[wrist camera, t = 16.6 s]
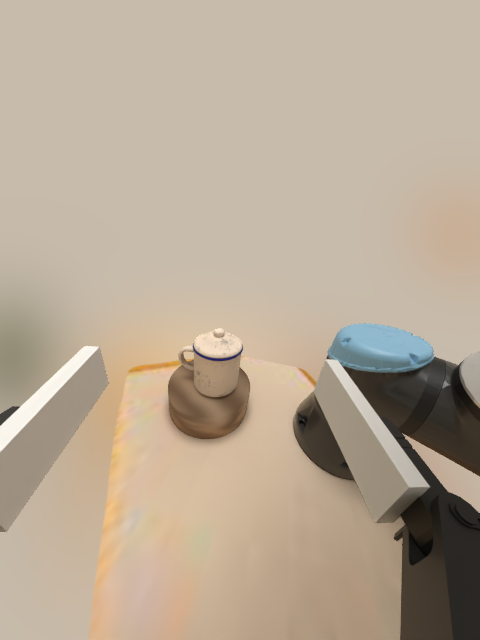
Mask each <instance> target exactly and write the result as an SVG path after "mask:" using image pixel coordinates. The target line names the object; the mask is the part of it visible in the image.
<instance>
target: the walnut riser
mask: <svg viewBox="0 0 480 640" xmlns="http://www.w3.org/2000/svg"><path fill="white" fill-rule="evenodd" d="M188 363H190V364H193V365H194V360H191V361H189V362H188ZM249 392H250V382H249V379H248V377H247V375H246V373H245V372H244V371H243V370H242V369H241V368H240V367H239V375H238V383H237V386H236V388H235V389H234V391H232V392H231V393H230V394H228V395H225V396H221V397H210V396H206V395H204V394H202V393H200V392H199V391H198V390H197V389H196V387H195V385H194V370H190V369H187V368H185V367H184V366H183V365H181V366H180V367H179V368H178V369H177V370H176V371H175V372H174V373H173V374H172V376H171V378H170V380H169V384H168V394H169V410H170V416H171V419H172V421H173V422H174V424H175V425H176V427H177V428H178V429H180V430H181V431H182V432H184V433H185V434H187V435H189V436H192V437H195V438H200V439H213V438H218V437H221V436H224V435H226V434H228V433H230V432H232V431H233V430H234V429H236V428H237V427H238V426H239V424H240V423H241V422H242V420H243V418H244V416H245V413H246V408H247V403H248V397H249Z"/></svg>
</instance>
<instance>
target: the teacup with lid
mask: <svg viewBox="0 0 480 640" xmlns="http://www.w3.org/2000/svg"><path fill="white" fill-rule="evenodd" d="M242 350H243V345H242V342H241V341H240V339H239V338H238V337H236V336H235V335H233V334H230V333H227V332H225V331H224V330H223V329H221V328H216V329H215V330H214V331H212V332H207V333H204V334H201V335H200V336H198V337H197V338H196V339H195V341H194V343H193V346H185V347H183V348H182V349H181V350H180V351H179V360H180V362H181V364H182V365H183V366H184V367H185V368H187V369H190V370H194V385H195V387H196V389H197V390H198V391H199V392H200V393H202V394H204V395H206V396H210V397H221V396H225V395H228V394H230V393H231V392H232V391H234V389H235V388H236V386H237V383H238V375H239V366H240V358H241V352H242ZM185 351H190V352H194V365H193V364H190V363H188V362H187V361H186V360H185V358H184V356H183V352H185Z"/></svg>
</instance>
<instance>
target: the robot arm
mask: <svg viewBox="0 0 480 640" xmlns="http://www.w3.org/2000/svg"><path fill="white" fill-rule="evenodd" d="M433 352H434V351H433V348H432V346H431V345H430V344H429V343H428V342H427V341H425V340H424V339H422V338H420V337H418V336H413V334H412V333H410V332H406V331H404V330H401V329H397V328H394V327H389V326H384V325H378V324H366V323H364V324H353V325H349V326H346V327H344V328H342V329H341V330H340V331H339V332H338V333H337V335H336V337H335V339H334V341H333V343H332V346H331V347H330V348H329V350H328V356H327V359H326V360H325V362H324V365H323V367H322V370H321V373H320V376H319V378H318V381H317V383H316V386H315V389H314V391H313V392H312V393H311V394H310V395H309V396H308V397H307V398H306V399H305V400H304V401H303V402H302V403H301V404H300V405H299V407H298V409H297V411H296V414H295V417H294V432H295V435H296V438H297V440H298V442H299V444H300V446H301V447H302V449H303V450H304V452H305V453H306V454H307V455H308V456H309V458H310V459H311V460H312V461H314V462H315V463H316V464H317V465H318V466H320V467H321V468H322V469H324V470H326V471H327V472H329V473H331V474H333V475H336V476H338V477H341V478H346V479H355V481H356V483H357V485H358V488H359V490H360V492H361V494H362V496H363V498H364V500H365V502H366V505H367V507H368V509H369V511H370V513H371V515H372V517H373V519H374V522H375V523H391V522H394V521H395V520H396V519H397V518H398V517H399V516H400V515H401V517H402V519H403V521H404V522H405V524H406V525H404V526H403V527H402V528H401V529H400V530H399V531H398V532H397V533H395V537H394V539H395V540H396V541H398V540H399V539H400V538H402V537H403V544H402V545H403V548H402V592H401V635H400V640H480V513H478V512H477V511H476V510H475V509H474V508H473V507H472V506H471V505H470V504H469V503H468V502H466V501H465V500H463V499H462V498H461V497H458V496H457V495H454V494H452V493H449V492H447V490H446V489H445V488H444V487H443V485H442V484H441V483H440V482H439V480H438V479H437V478H436V476H435V475H434V474H433V473H432V471H431V470H430V469H429V467H428V466H427V465H426V464H425V462H424V461H423V460H422V459H421V457H420V456H419V455H418V453H417V452H416V451H415V450H414V449H413V448H412V446H411V444H410V443H409V442H408V441H407V440H406V439H405V437H404V435H403V434H405V435H407V436H409V437H410V438H412V439H414V440H416V441H418V442H419V443H421V444H423V445H425V446H426V447H428V448H430V449H432V450H434V451H435V452H437V453H439V454H441V455H443V456H445V457H446V458H448V459H450V460H452V461H454V462H455V463H457V464H459V465H461V466H462V467H464V468H466V469H468V470H469V471H472V472H473V473H475V474H476V475H478V476H480V352H476V353H473V354H471V355H470V356H468V357H467V358H465V359H464V360H463V361H462V362H461V363H460V364H459V365H456V364H453V363H451V362H448V361H445V360H442V359H439V358H436V357H434V353H433ZM108 384H109V382H108V378H107V375H106V370H105V367H104V363H103V359H102V355H101V351H100V347H91V346H84V347H83V348H82V349H81V350H80V351H79V352H78V353H77V354H76V355H75V356H74V357H73V358H72V359H71V360H70V361H68V362H67V363H66V364H65V365H64V366H63V367H62V368H61V369H60V370H59V371H58V372H57V373H56V374H55V375H54V376H53V377H52V378H51V379H49V380H48V381H47V382H46V383H45V384H44V385H43V386H42V387H41V388H40V389H39V390H38V391H37V392H36V393H35V394H34V395H33V396H32V397H31V398H29V399H28V400H27V401H26V402H25V403H24V404H23V405H22V406H21V407H14V406H13V407H11V408H9V409H8V410H6V411H5V412H3V413H1V414H0V532H5V531H7V530H8V529H9V528H10V526H11V525H12V523H13V522H14V520H15V519H16V518H17V516H18V515H19V513H20V512H21V510H22V509H23V507H24V506H25V504H26V503H27V502H28V500H29V499H30V497H31V496H32V494H33V493H34V491H35V490H36V489H37V487H38V486H39V484H40V483H41V481H42V480H43V478H44V477H45V475H46V474H47V473H48V471H49V470H50V468H51V467H52V465H53V464H54V462H55V461H56V460H57V458H58V457H59V455H60V454H61V452H62V451H63V449H64V448H65V446H66V445H67V444H68V442H69V440H70V439H71V438H72V436H73V435H74V433H75V432H76V431H77V429H78V428H79V426H80V424H81V423H82V422H83V420H84V419H85V417H86V416H87V415H88V413H89V412H90V410H91V409H92V407H93V406H94V404H95V403H96V401H97V400H98V399H99V397H100V396H101V394H102V393H103V391H104V390H105V388H106V387H107V386H108ZM402 433H403V434H402Z"/></svg>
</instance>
